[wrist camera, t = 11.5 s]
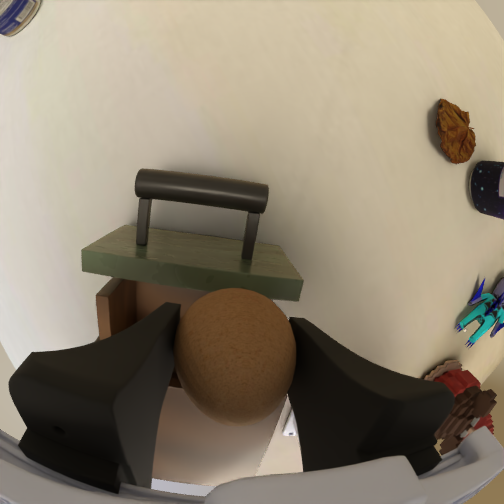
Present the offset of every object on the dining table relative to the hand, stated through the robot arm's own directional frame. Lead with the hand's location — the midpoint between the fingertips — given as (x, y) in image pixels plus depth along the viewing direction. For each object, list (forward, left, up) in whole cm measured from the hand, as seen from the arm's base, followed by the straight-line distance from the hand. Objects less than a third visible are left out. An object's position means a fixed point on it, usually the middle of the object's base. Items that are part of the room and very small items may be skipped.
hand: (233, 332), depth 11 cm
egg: (0, 0, -2) cm, 2 cm away
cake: (-30, +15, -11) cm, 35 cm away
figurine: (-32, +1, -11) cm, 33 cm away
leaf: (-19, -15, -11) cm, 26 cm away
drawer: (+2, +2, -9) cm, 10 cm away
